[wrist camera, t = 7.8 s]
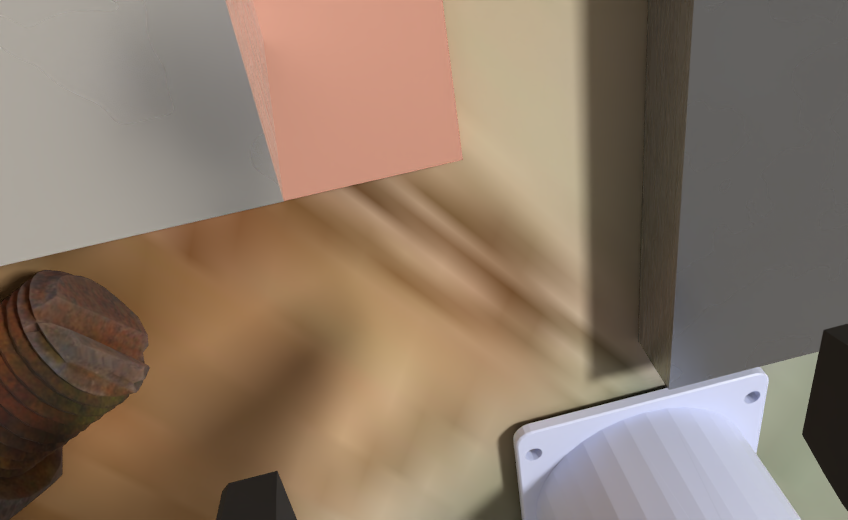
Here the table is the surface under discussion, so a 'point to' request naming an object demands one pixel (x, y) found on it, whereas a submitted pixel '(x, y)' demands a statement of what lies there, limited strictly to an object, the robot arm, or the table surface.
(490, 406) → the table surface
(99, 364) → the bolt
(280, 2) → the mat
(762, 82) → the block
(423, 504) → the table surface
